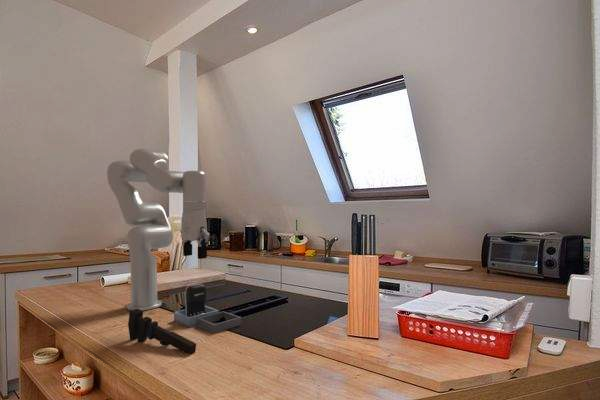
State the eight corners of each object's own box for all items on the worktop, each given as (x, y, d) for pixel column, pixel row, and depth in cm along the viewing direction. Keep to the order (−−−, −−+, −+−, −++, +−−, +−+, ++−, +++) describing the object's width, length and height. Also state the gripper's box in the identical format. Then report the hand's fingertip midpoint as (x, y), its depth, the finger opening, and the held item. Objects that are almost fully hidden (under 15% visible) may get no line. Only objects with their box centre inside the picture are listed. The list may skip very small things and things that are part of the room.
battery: (190, 322, 122) (189, 287, 122) (184, 319, 125) (183, 286, 125) (208, 317, 127) (208, 284, 127) (202, 315, 130) (202, 282, 130)
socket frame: (197, 325, 120) (197, 318, 120) (223, 318, 127) (223, 311, 127) (214, 333, 113) (214, 325, 113) (241, 324, 120) (241, 317, 120)
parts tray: (174, 320, 126) (173, 311, 126) (203, 313, 134) (203, 305, 134) (188, 327, 119) (188, 318, 119) (218, 319, 127) (218, 310, 127)
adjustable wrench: (186, 372, 97) (126, 338, 109) (193, 368, 99) (134, 335, 112) (190, 342, 96) (129, 311, 108) (198, 339, 99) (137, 308, 111)
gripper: (172, 207, 130) (172, 255, 130) (197, 207, 118) (197, 261, 118) (191, 206, 135) (192, 253, 135) (217, 206, 123) (218, 258, 123)
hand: (194, 256), depth 127 cm, fingers open, 9 cm apart
